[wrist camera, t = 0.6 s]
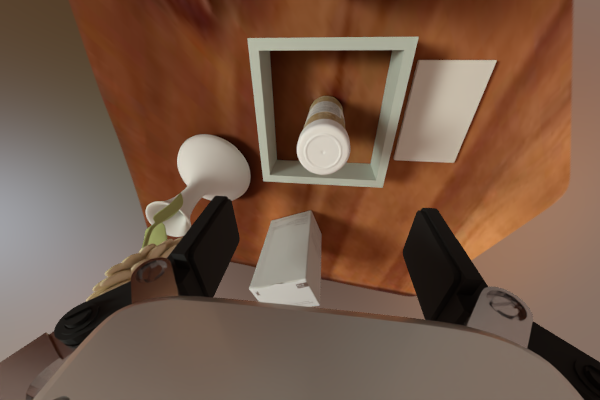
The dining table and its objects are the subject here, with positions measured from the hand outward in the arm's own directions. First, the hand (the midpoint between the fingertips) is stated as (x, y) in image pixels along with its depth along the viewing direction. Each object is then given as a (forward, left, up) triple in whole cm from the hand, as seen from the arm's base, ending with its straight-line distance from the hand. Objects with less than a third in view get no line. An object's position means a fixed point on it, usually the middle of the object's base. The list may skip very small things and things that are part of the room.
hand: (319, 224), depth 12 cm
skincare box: (+20, -4, -22) cm, 30 cm away
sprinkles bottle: (0, 0, -22) cm, 23 cm away
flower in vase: (+8, -16, -22) cm, 29 cm away
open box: (0, 0, -22) cm, 22 cm away
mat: (0, +14, -22) cm, 26 cm away
